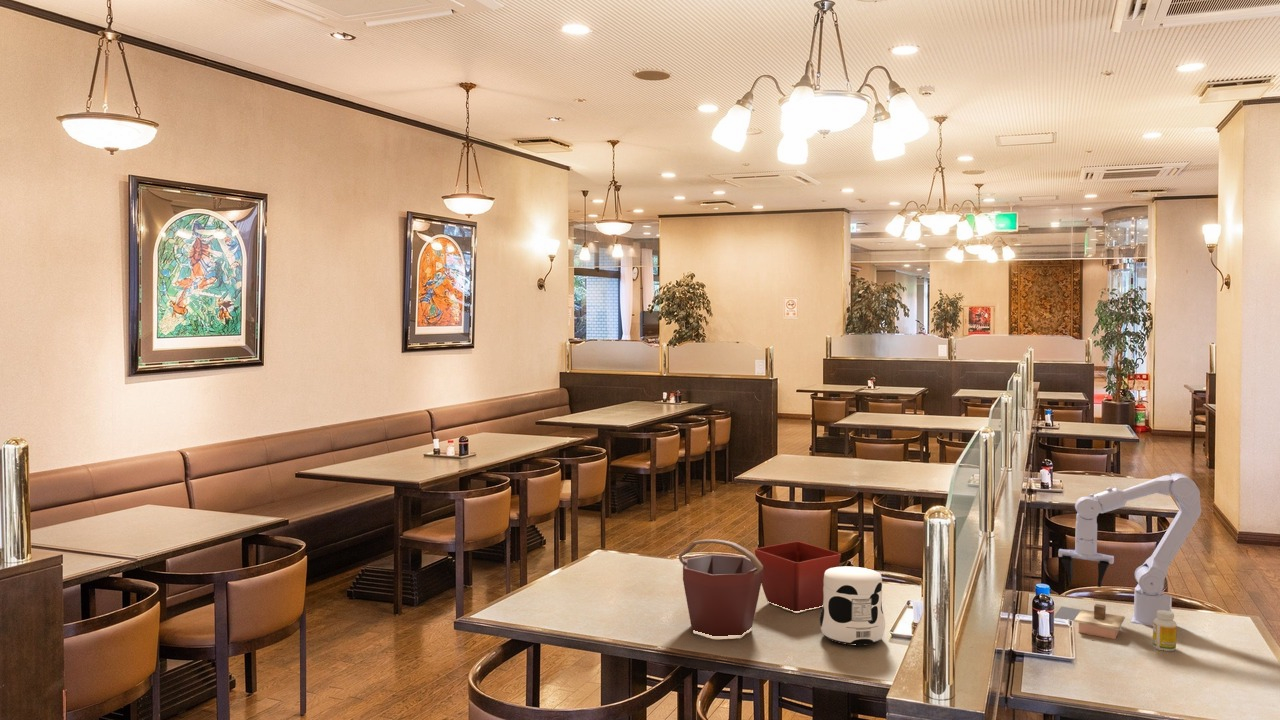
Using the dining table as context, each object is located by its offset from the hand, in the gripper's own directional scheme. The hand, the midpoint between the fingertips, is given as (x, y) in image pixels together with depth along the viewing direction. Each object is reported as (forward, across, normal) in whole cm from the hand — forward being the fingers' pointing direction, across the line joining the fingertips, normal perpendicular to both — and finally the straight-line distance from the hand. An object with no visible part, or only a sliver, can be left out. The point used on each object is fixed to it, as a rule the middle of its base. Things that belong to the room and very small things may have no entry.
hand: (1085, 584), depth 265 cm
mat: (+9, 0, -2) cm, 10 cm away
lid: (+6, +6, -14) cm, 16 cm away
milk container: (+10, -48, -59) cm, 77 cm away
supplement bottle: (+10, +22, -17) cm, 29 cm away
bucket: (+10, -81, -73) cm, 109 cm away
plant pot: (+10, -73, -41) cm, 84 cm away
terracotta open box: (+9, +6, -14) cm, 18 cm away
